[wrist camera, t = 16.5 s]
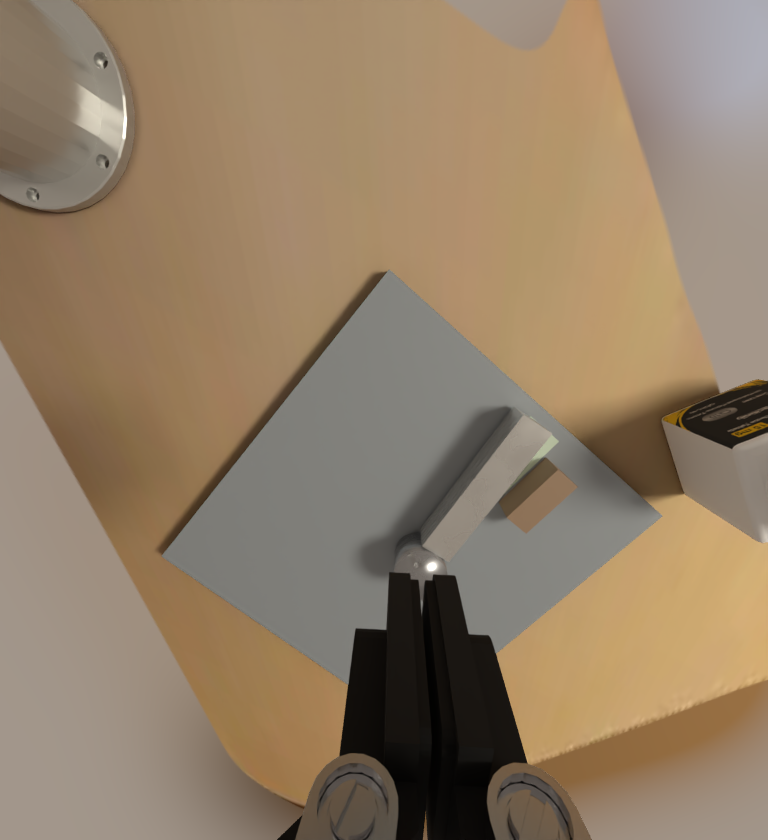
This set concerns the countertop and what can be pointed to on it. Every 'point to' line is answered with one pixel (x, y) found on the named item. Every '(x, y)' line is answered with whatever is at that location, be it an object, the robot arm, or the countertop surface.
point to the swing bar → (470, 498)
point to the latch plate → (399, 491)
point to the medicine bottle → (725, 455)
